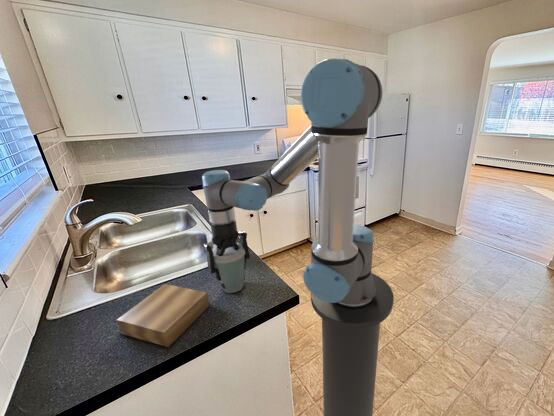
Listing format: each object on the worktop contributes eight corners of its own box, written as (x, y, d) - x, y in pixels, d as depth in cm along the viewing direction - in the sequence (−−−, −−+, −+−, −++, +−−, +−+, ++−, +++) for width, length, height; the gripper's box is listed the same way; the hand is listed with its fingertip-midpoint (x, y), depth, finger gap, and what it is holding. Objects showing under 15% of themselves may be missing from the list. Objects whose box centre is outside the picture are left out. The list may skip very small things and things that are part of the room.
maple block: (209, 305, 83) (206, 292, 82) (168, 347, 69) (164, 332, 67) (168, 296, 88) (164, 283, 86) (121, 334, 73) (116, 319, 72)
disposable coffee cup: (222, 301, 85) (215, 261, 79) (213, 284, 93) (206, 247, 88) (254, 288, 91) (249, 250, 85) (243, 273, 99) (237, 237, 93)
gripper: (244, 209, 91) (252, 266, 100) (186, 226, 79) (200, 289, 88) (256, 215, 86) (263, 275, 95) (195, 234, 74) (209, 301, 83)
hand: (233, 282), depth 91 cm, fingers open, 6 cm apart
